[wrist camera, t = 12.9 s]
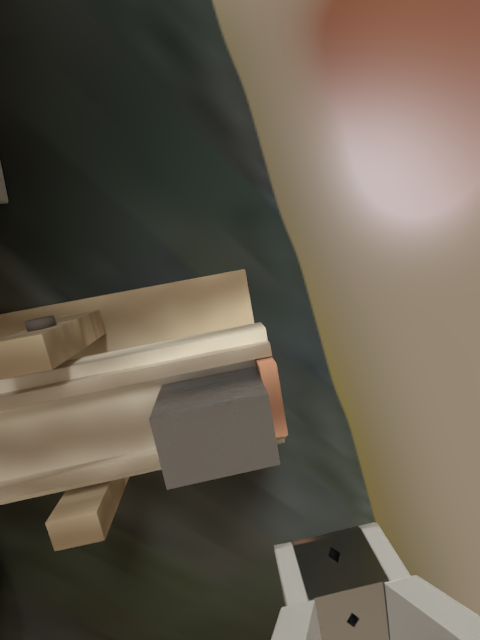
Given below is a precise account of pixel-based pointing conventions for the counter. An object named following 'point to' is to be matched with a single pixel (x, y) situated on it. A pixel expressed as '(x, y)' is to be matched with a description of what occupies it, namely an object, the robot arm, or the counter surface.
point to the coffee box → (2, 188)
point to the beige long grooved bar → (112, 409)
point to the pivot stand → (105, 336)
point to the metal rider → (213, 427)
